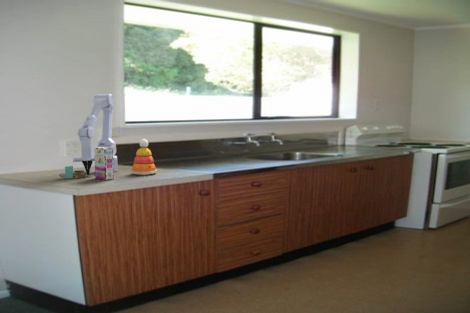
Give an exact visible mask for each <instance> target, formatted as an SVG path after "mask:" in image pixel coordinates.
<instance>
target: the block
mask: <svg viewBox="0 0 470 313" xmlns="http://www.w3.org/2000/svg"><path fill="white" fill-rule="evenodd" d="M64 173H65V176H64V177H65V179H74V177H73V173H74V165H65V166H64Z"/></svg>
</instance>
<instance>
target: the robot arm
mask: <svg viewBox="0 0 470 313" xmlns="http://www.w3.org/2000/svg"><path fill="white" fill-rule="evenodd" d="M92 100H93V101H92V102H93V106H92V109H91V112H90V114H89V115H87V117H86V118H85V121H84V123H83V125H82V126H81V127H80V128H79V129H78V132H77V135H78V137H79V141H80V152H81V155H80V156H81V157H75V158H73V157H72V163H77V162H78V163H79V162H80V163H82V165H83V167H84V169H85V170H84V171H85V172H86V176H89V175H90V172H91V171H90V170H91V168H92V165H93V162H95V156H93V154H94V153H93V140H92V139H93V137H94V136H95V127H96V125H97V122H98V115H99V114H100V112H101V110H102V112H103V113H102V115H103V117H102V130H101V131H102V133H101V134H102V135H101V136H102V137H101V139H100V140H99V141H98V142H97V146H96V147H106V148H113V171H114V172H116V173H117V172H119V171H118V170H119V167H118V166H119V165H118V156H117V155H116V154H117V144H116V142H115V141H114V140H113V139H112V135H113V116H114V115H113V114H114V109H115V97H114V95H113V94H111V93H102V94H101V93H100V94H99V93H96V94H95V95H94V96H93V99H92Z"/></svg>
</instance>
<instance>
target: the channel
mask: <svg viewBox="0 0 470 313" xmlns="http://www.w3.org/2000/svg"><path fill="white" fill-rule="evenodd" d="M85 172H86V171H85V170H83V169H80V170H79V169H78V170H73V173H75V177H74V179H83V178H84V179H85Z"/></svg>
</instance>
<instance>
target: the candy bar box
mask: <svg viewBox="0 0 470 313" xmlns="http://www.w3.org/2000/svg"><path fill="white" fill-rule="evenodd" d="M93 149H94V157H95V161H94V176H95V179H98V180H102V181H114V180H115V179H114V178H115V177H114V176H115V174H114V171H113V148H106V147H97V146H96V147H94V148H93Z"/></svg>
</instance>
